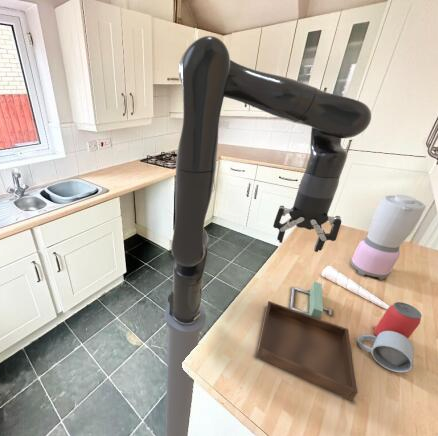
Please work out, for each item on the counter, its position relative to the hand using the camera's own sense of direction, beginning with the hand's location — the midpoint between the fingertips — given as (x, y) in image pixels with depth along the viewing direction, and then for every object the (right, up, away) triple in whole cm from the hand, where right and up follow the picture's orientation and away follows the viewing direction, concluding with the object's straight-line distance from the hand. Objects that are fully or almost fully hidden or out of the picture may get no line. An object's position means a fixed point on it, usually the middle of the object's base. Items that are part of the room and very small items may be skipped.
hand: (297, 245), depth 67 cm
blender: (+49, -13, +33) cm, 61 cm away
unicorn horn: (+34, -19, +22) cm, 45 cm away
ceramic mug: (+24, -31, +1) cm, 39 cm away
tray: (+3, -30, +4) cm, 30 cm away
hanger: (+16, -23, +16) cm, 32 cm away
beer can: (+30, -28, +6) cm, 42 cm away
